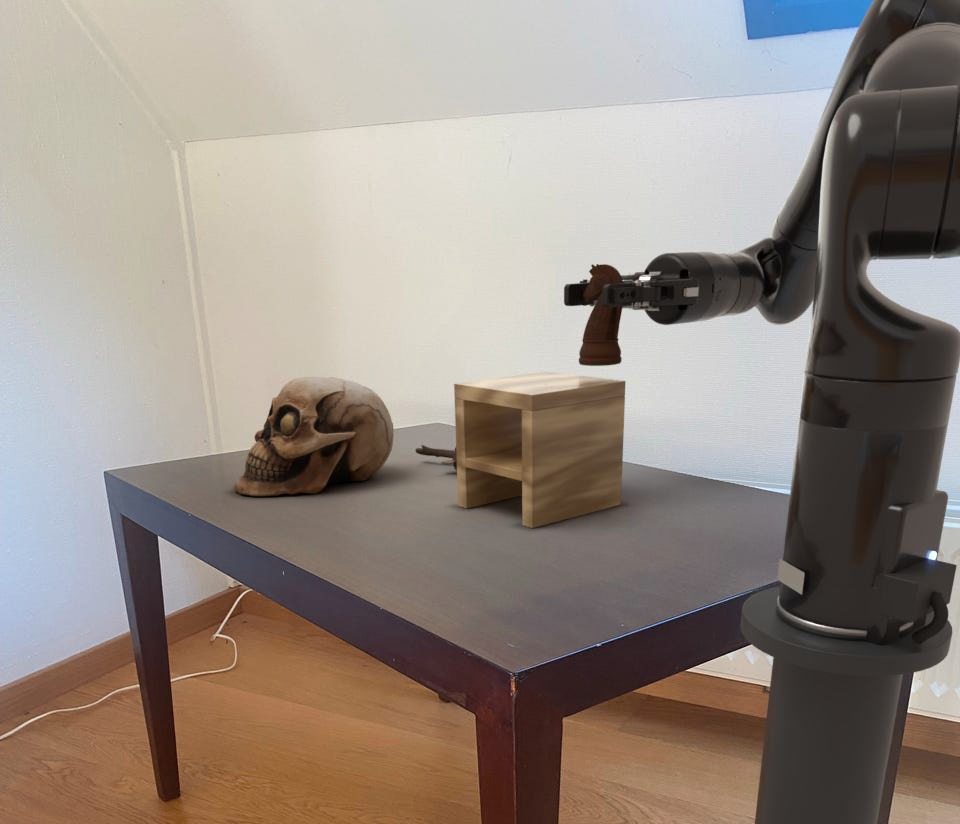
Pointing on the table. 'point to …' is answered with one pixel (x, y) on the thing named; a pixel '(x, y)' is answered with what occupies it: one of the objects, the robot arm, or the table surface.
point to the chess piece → (601, 321)
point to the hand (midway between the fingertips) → (586, 295)
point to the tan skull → (318, 438)
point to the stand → (541, 443)
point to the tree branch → (439, 454)
